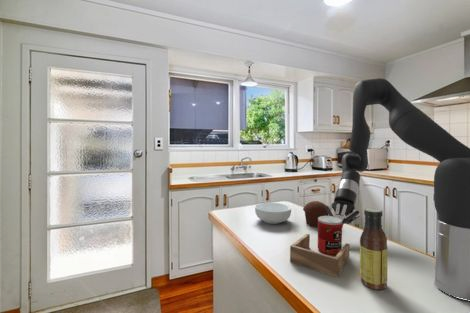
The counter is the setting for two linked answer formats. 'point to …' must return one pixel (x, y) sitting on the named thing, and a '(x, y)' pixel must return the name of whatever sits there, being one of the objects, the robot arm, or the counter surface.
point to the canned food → (329, 235)
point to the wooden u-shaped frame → (318, 257)
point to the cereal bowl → (273, 212)
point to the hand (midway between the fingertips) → (336, 231)
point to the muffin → (314, 212)
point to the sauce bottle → (373, 251)
